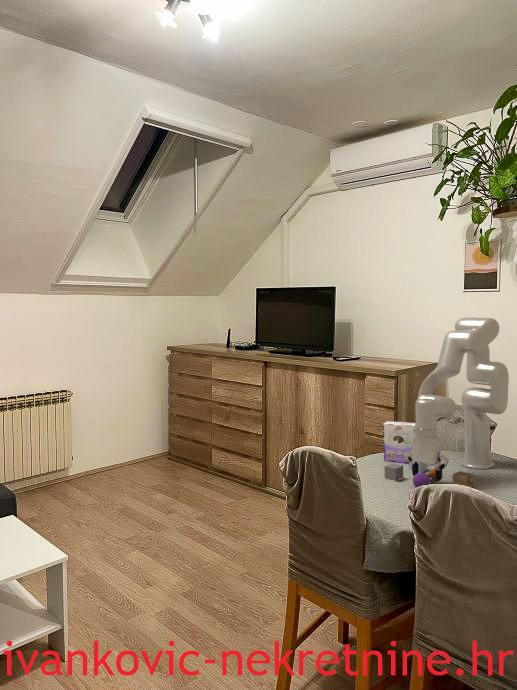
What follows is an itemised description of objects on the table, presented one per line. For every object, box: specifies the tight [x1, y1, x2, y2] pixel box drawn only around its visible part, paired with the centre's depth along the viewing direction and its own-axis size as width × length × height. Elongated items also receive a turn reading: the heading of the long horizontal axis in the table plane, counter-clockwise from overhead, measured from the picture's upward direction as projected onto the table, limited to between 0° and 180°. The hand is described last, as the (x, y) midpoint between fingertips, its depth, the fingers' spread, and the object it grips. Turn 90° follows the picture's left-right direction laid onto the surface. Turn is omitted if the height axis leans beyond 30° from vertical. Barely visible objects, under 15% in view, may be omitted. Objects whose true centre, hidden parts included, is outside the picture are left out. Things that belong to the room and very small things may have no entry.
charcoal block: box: [384, 462, 404, 482], centre depth 213 cm, size 5×5×5 cm
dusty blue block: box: [408, 461, 428, 473], centre depth 222 cm, size 5×5×5 cm
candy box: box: [382, 420, 416, 464], centre depth 234 cm, size 14×6×16 cm, turn 59°
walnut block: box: [452, 470, 474, 487], centre depth 200 cm, size 5×5×5 cm
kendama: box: [412, 467, 437, 488], centre depth 207 cm, size 6×6×20 cm
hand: (426, 477), depth 206 cm, fingers open, 9 cm apart
